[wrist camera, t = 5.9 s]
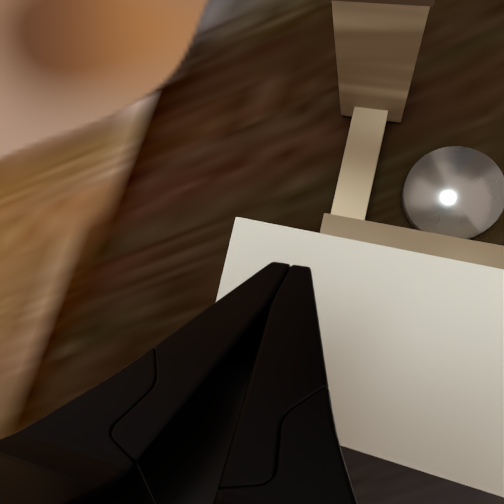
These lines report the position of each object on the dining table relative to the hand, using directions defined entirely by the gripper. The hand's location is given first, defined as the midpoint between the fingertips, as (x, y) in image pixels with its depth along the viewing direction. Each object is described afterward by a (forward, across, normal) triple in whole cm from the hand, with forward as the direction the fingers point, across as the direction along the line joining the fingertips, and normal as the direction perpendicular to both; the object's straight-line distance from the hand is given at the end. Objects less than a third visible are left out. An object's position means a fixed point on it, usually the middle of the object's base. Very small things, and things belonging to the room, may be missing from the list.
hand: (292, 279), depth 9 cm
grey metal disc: (+14, -4, +5) cm, 15 cm away
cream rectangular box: (+8, -2, +10) cm, 13 cm away
